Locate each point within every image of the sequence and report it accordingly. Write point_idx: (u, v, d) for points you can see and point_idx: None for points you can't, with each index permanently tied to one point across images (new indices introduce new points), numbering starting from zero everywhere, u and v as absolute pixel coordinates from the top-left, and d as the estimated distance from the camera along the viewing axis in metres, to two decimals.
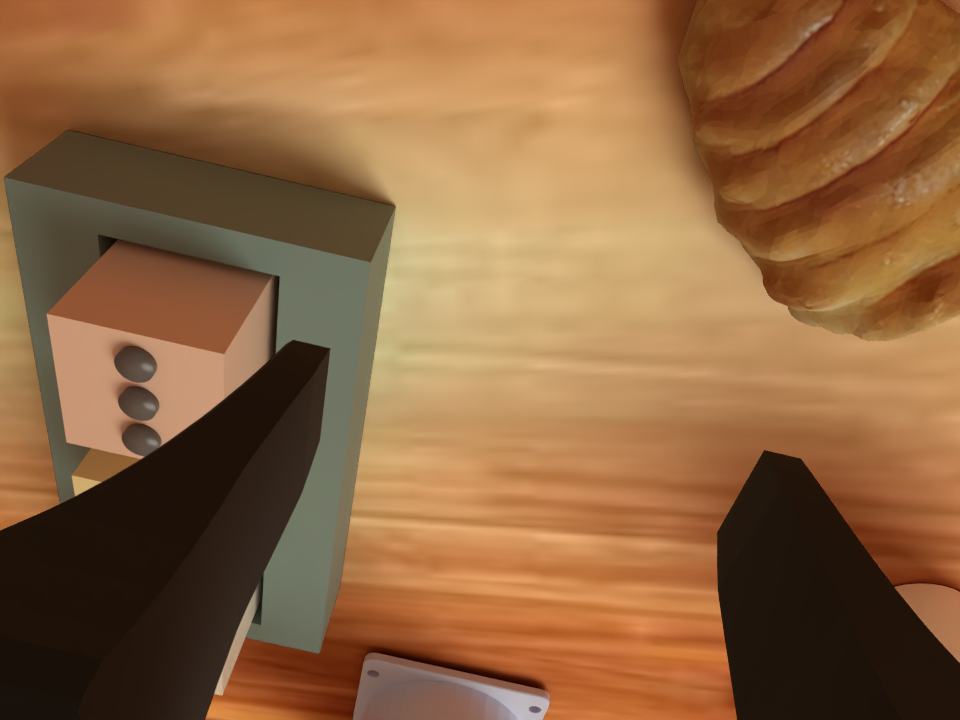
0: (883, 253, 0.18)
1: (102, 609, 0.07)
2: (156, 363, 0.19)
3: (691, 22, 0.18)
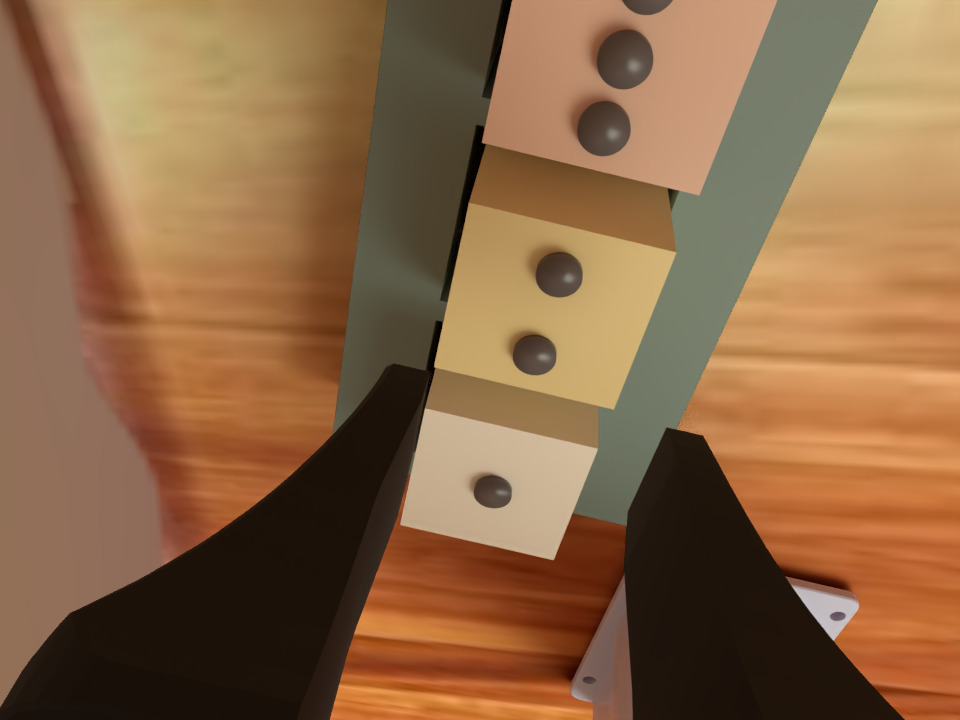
0: None
1: (283, 650, 0.07)
2: None
3: None
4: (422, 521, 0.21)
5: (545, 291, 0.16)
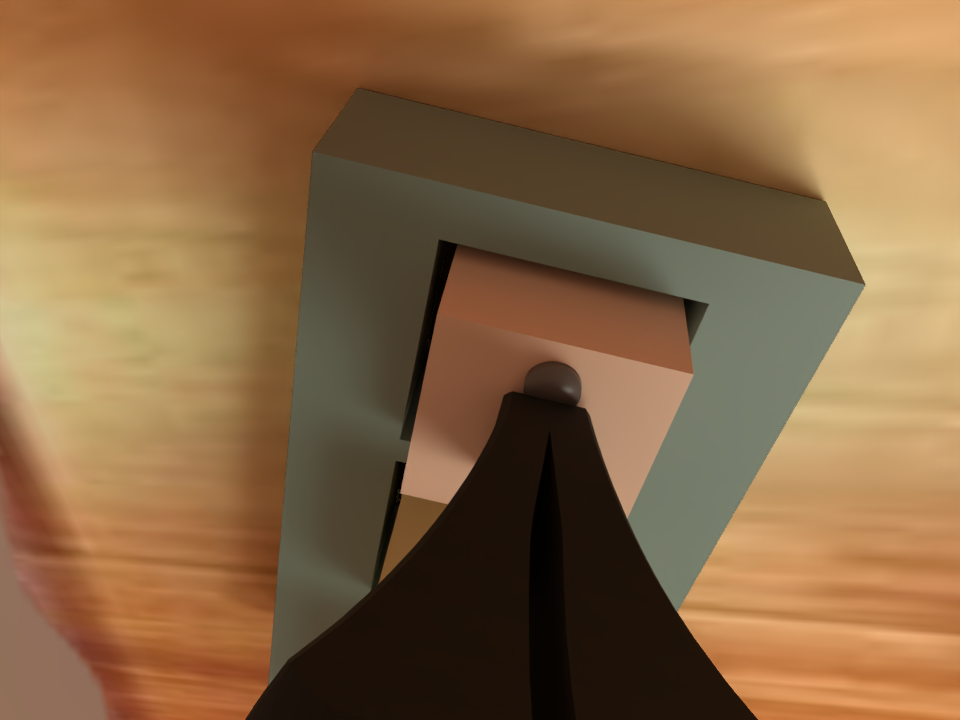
0: None
1: (495, 698, 0.07)
2: (580, 386, 0.13)
3: None
4: None
5: None
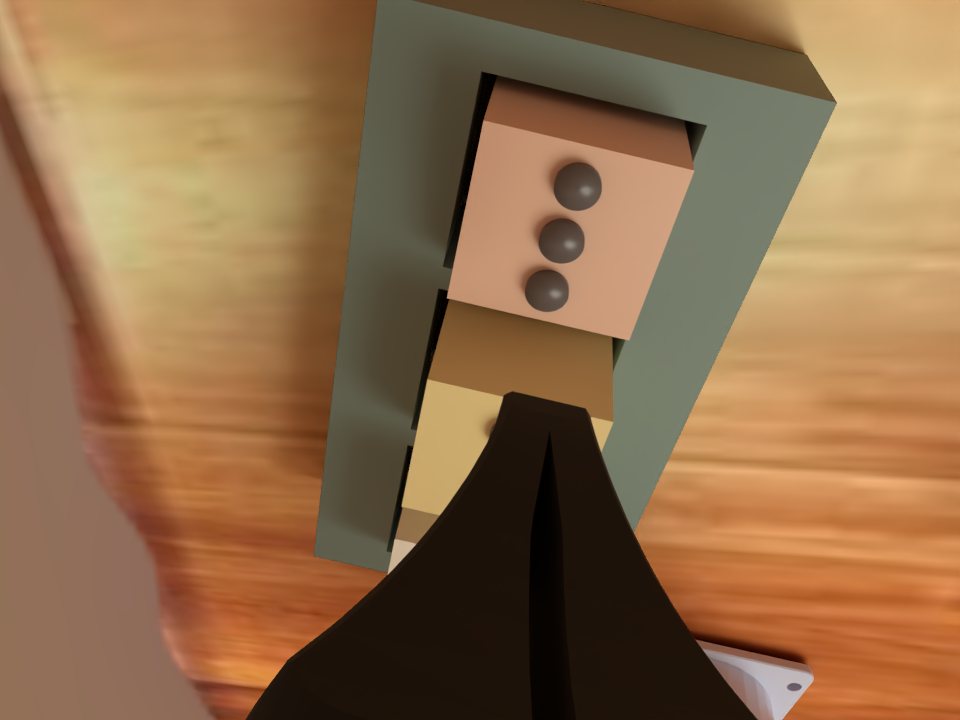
0: None
1: (495, 698, 0.07)
2: (600, 186, 0.16)
3: None
4: None
5: None
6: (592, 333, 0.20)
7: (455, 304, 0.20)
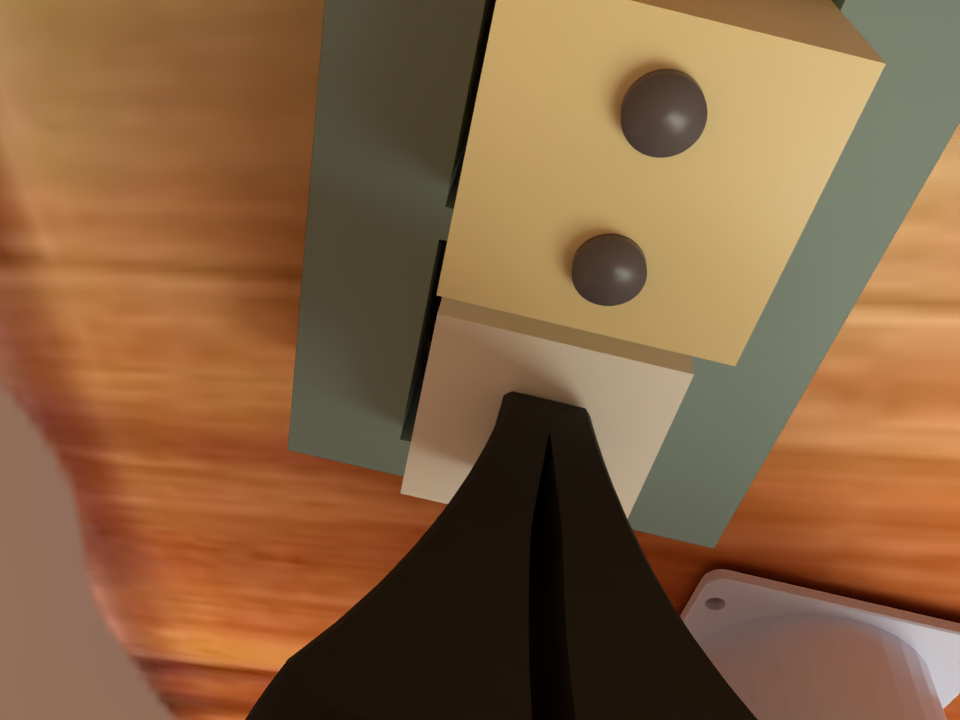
0: None
1: (495, 697, 0.07)
2: None
3: None
4: (431, 488, 0.15)
5: (637, 145, 0.09)
6: None
7: None
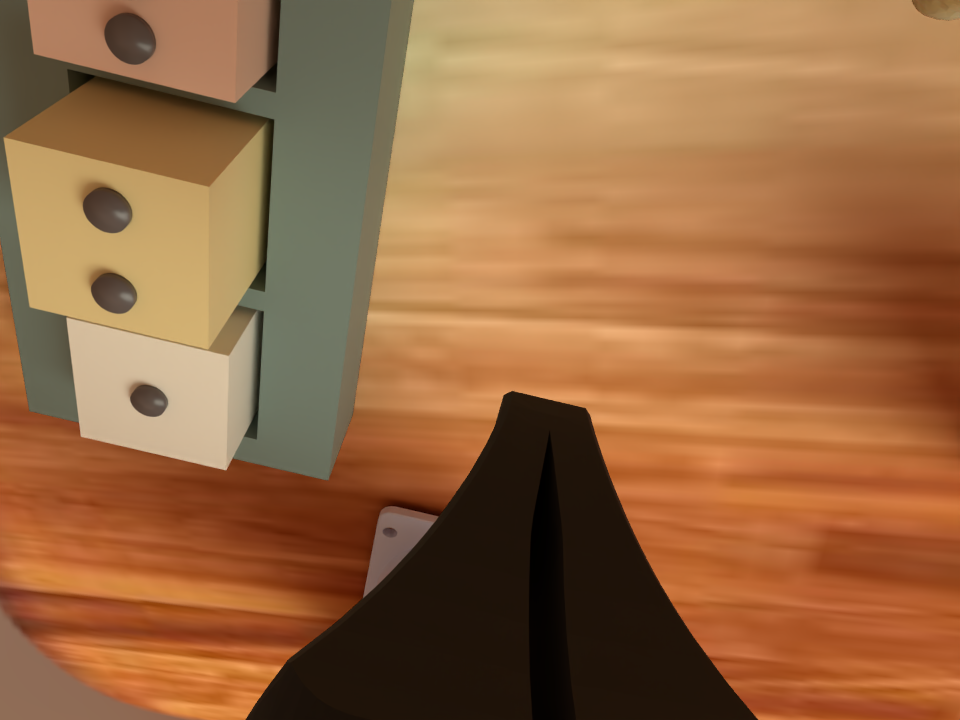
0: None
1: (495, 698, 0.07)
2: None
3: None
4: (99, 432, 0.22)
5: (98, 227, 0.17)
6: (239, 122, 0.18)
7: (88, 88, 0.18)
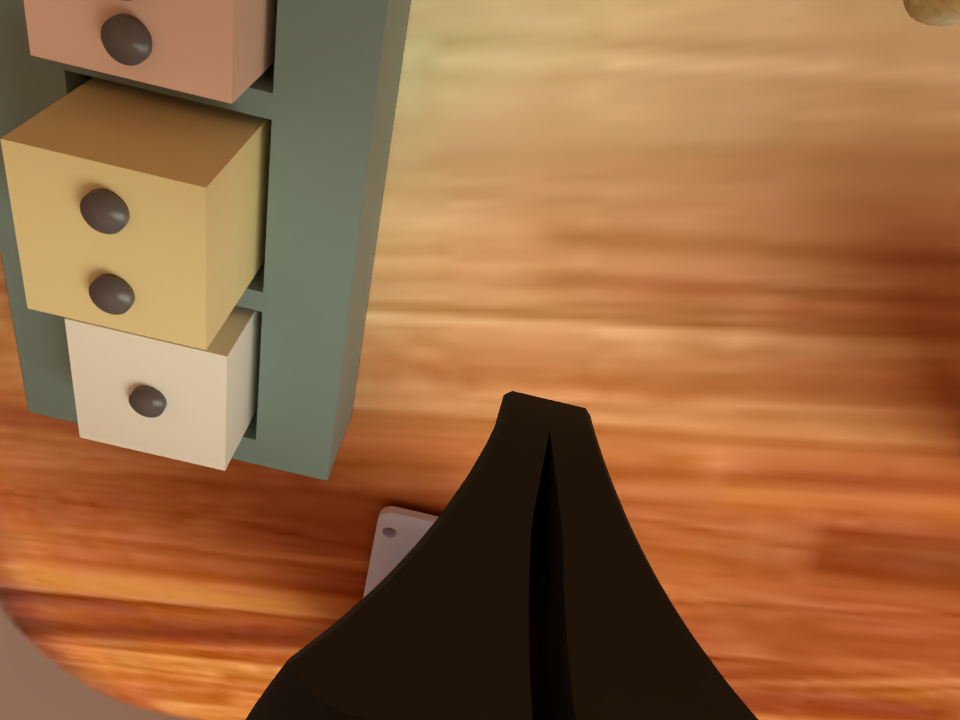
0: None
1: (495, 698, 0.07)
2: None
3: None
4: (97, 433, 0.22)
5: (95, 228, 0.17)
6: (237, 123, 0.18)
7: (85, 89, 0.18)
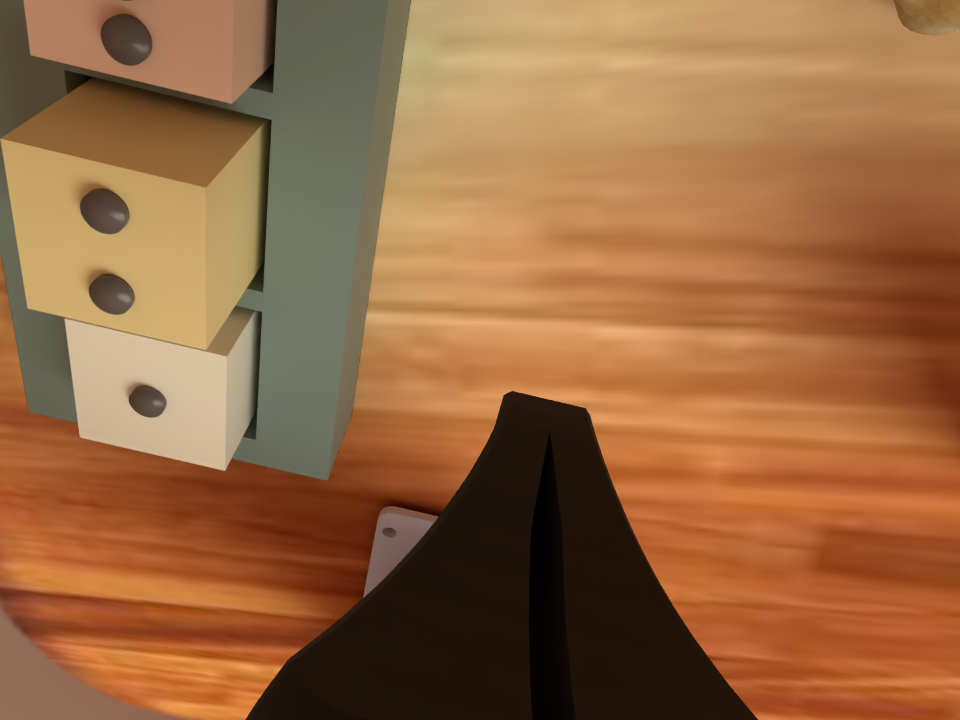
0: None
1: (495, 698, 0.07)
2: None
3: None
4: (97, 433, 0.22)
5: (95, 228, 0.17)
6: (237, 123, 0.18)
7: (85, 89, 0.18)
